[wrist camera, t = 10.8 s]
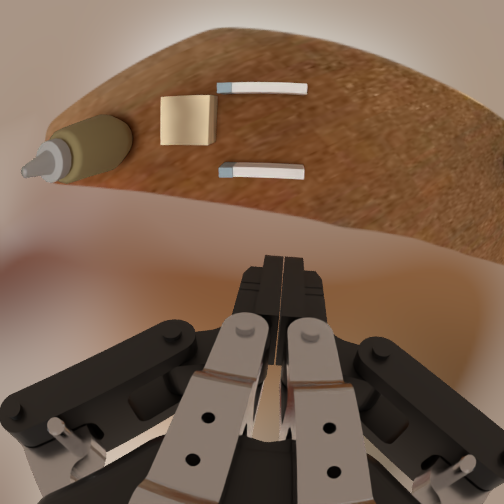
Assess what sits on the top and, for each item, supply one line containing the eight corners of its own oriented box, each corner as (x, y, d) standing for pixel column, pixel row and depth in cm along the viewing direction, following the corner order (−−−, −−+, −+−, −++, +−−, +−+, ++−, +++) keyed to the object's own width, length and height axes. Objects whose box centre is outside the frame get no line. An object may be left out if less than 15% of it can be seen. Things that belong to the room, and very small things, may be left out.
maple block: (218, 96, 31) (209, 95, 28) (216, 141, 34) (207, 145, 31) (173, 97, 32) (161, 97, 28) (172, 140, 35) (160, 144, 31)
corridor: (305, 85, 29) (307, 83, 26) (302, 173, 35) (304, 180, 32) (223, 85, 30) (216, 83, 28) (224, 171, 36) (218, 177, 33)
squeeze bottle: (139, 109, 33) (45, 124, 17) (141, 164, 37) (56, 211, 21) (94, 116, 33) (0, 138, 18) (97, 167, 37) (11, 211, 22)
